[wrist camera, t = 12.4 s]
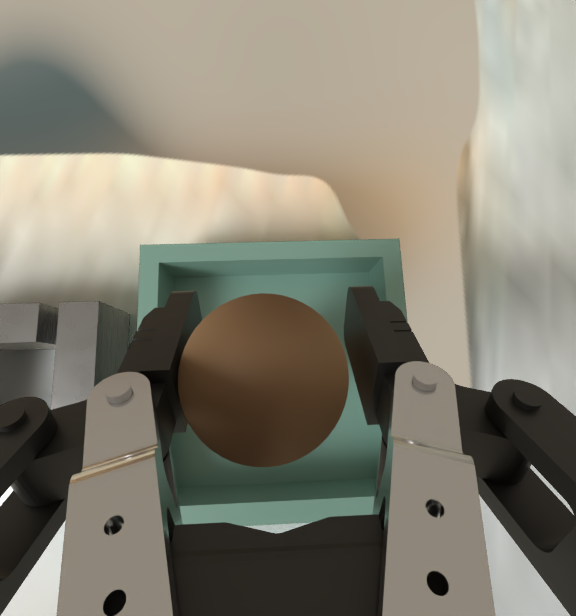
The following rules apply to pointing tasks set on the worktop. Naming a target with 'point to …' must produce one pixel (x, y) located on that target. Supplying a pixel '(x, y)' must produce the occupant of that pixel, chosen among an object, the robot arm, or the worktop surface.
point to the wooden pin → (263, 380)
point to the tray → (331, 306)
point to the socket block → (69, 344)
